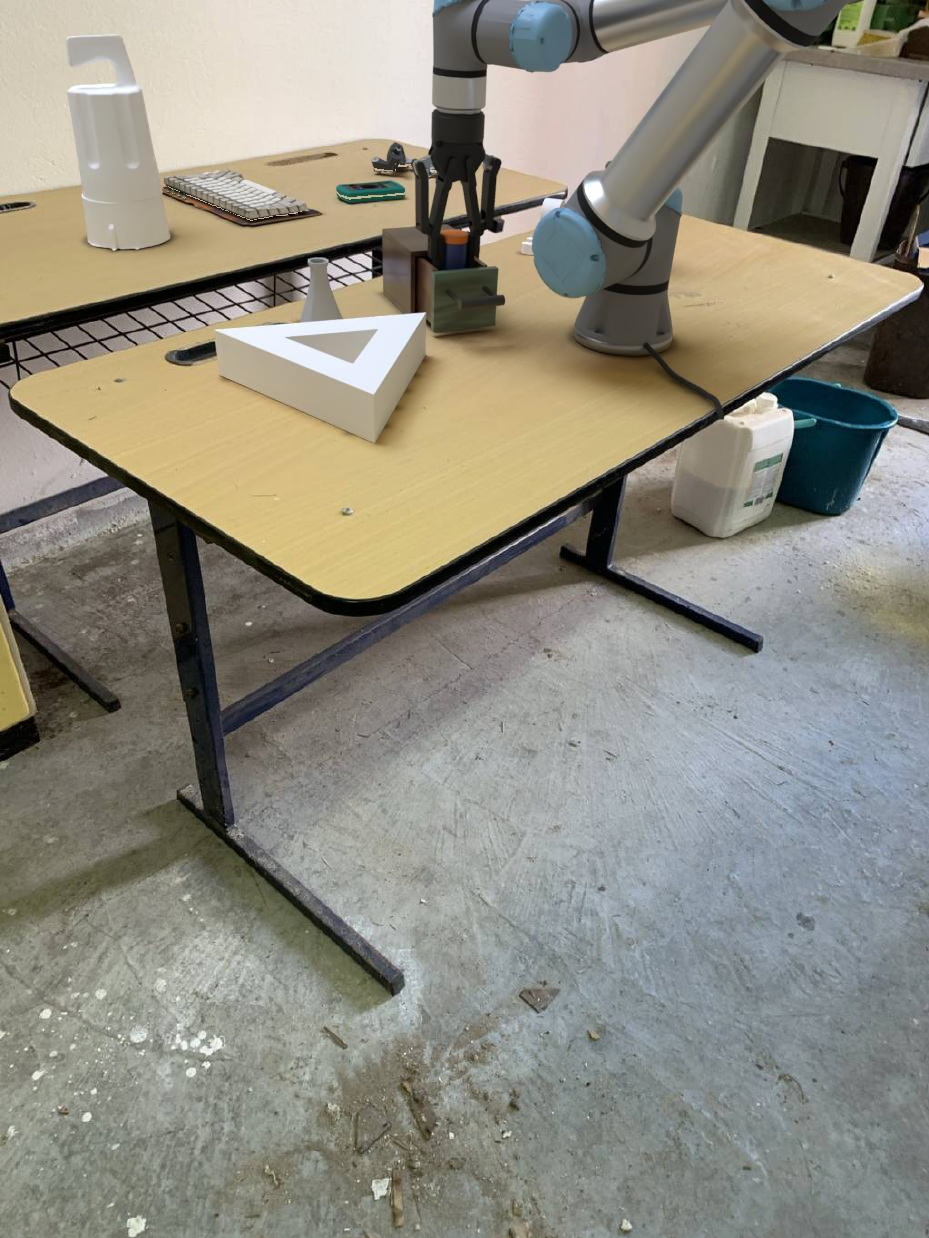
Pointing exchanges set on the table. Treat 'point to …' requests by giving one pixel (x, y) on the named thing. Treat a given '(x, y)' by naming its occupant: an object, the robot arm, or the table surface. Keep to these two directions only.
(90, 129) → the white piece
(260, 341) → the triangle block
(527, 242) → the cable organizer
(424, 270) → the drawer
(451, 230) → the glue stick
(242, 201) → the mechanical keyboard
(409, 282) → the cabinet
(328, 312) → the flask
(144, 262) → the table surface
